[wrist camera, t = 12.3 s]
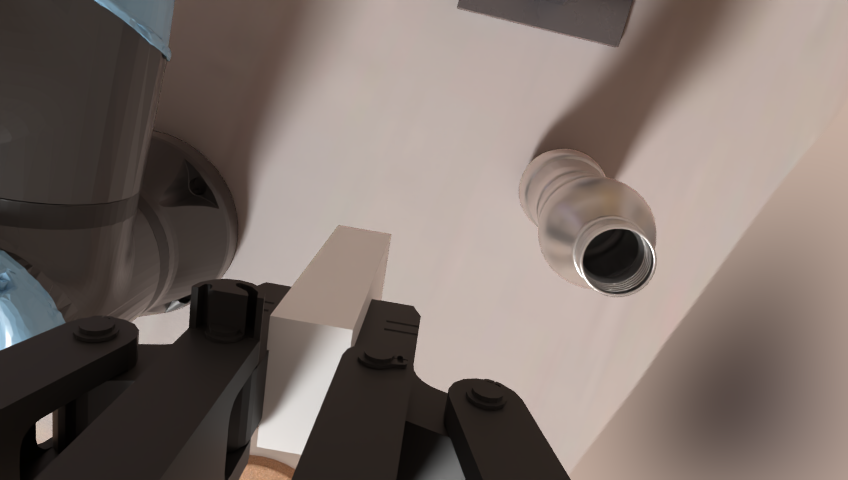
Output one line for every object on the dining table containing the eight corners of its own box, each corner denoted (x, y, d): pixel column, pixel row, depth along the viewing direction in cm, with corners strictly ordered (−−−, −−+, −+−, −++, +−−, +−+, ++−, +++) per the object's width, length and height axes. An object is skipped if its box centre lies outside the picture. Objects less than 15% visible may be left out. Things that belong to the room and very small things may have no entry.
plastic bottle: (552, 127, 48) (608, 165, 28) (619, 180, 48) (719, 252, 29) (499, 192, 49) (518, 270, 30) (565, 242, 50) (625, 350, 31)
